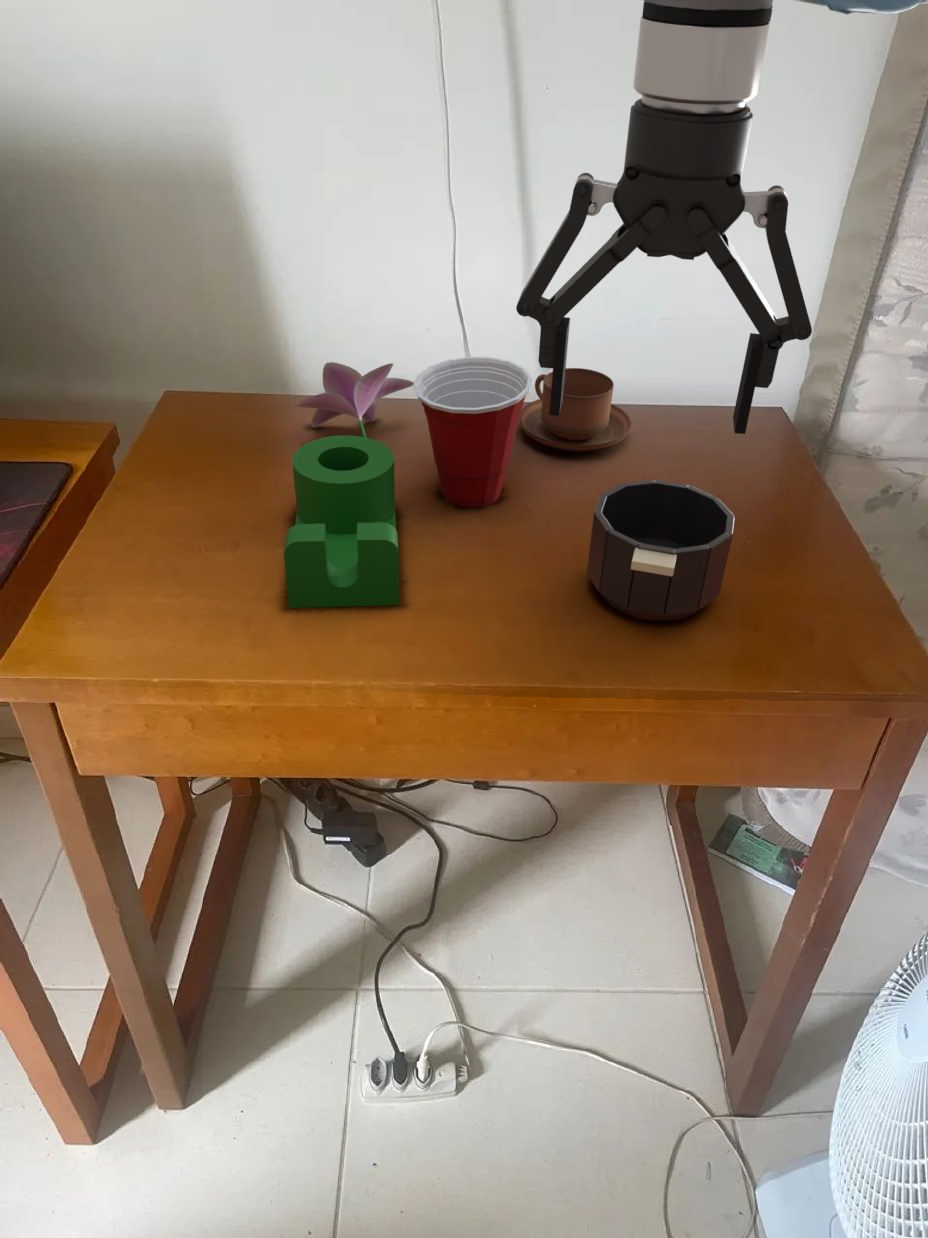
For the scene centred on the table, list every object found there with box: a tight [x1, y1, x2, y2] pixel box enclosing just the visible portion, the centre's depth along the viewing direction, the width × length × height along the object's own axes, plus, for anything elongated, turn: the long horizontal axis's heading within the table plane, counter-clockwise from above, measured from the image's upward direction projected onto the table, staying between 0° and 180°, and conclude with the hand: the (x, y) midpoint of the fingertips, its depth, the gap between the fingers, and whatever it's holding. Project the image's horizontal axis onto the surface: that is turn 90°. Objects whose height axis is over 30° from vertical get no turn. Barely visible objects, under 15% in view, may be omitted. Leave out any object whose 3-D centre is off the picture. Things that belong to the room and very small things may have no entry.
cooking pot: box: [586, 479, 736, 615], centre depth 80 cm, size 13×11×6 cm
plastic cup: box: [412, 356, 533, 508], centre depth 92 cm, size 11×11×12 cm
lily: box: [293, 361, 415, 438], centre depth 102 cm, size 12×12×10 cm
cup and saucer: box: [518, 367, 632, 452], centre depth 104 cm, size 12×12×6 cm
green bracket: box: [283, 434, 400, 609], centre depth 86 cm, size 18×9×6 cm, turn 5°
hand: (646, 417), depth 74 cm, fingers open, 13 cm apart
